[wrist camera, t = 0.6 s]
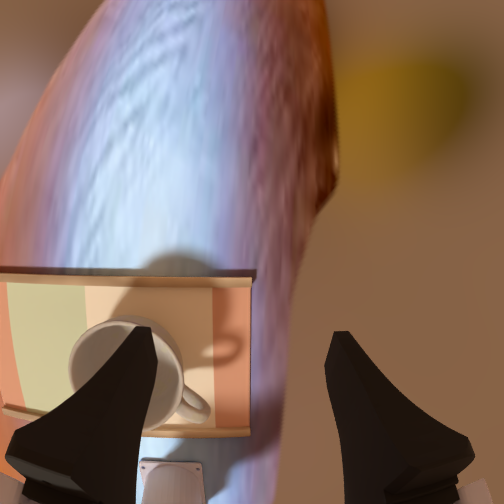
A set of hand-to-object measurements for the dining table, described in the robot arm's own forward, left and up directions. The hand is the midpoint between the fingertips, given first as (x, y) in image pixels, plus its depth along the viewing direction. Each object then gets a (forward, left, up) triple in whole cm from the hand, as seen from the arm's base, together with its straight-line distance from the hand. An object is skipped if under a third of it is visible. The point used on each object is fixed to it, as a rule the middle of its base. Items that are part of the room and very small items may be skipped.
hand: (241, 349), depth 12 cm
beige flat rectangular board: (-9, +13, -22) cm, 27 cm away
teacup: (-9, +7, -22) cm, 25 cm away
